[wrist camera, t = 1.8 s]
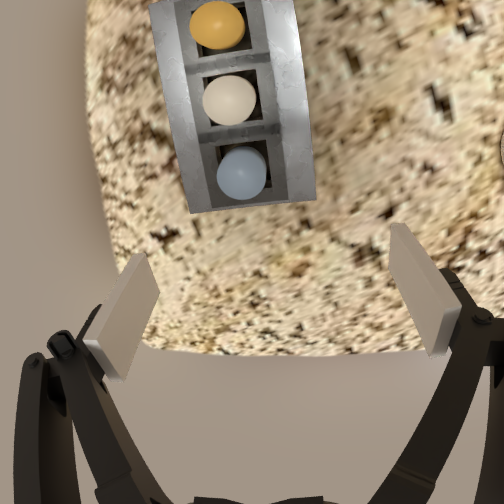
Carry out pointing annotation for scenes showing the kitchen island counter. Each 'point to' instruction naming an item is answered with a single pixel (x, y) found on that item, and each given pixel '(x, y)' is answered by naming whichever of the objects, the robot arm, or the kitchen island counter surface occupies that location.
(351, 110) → the kitchen island counter surface
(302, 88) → the button console
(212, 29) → the amber button
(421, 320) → the robot arm
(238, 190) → the blue button
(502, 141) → the ramekin
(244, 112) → the cream rounded cylinder
